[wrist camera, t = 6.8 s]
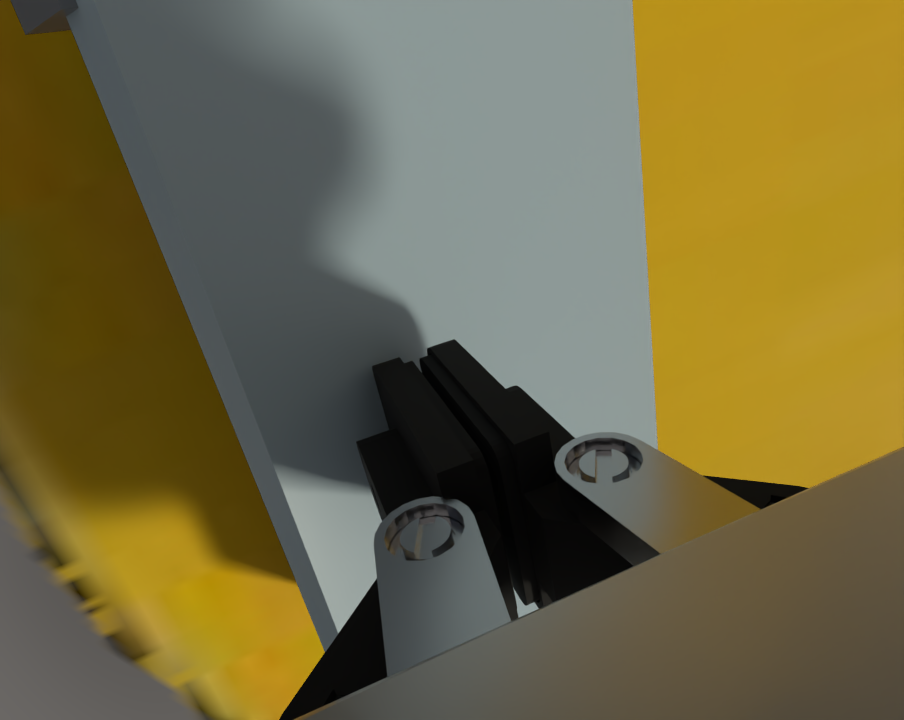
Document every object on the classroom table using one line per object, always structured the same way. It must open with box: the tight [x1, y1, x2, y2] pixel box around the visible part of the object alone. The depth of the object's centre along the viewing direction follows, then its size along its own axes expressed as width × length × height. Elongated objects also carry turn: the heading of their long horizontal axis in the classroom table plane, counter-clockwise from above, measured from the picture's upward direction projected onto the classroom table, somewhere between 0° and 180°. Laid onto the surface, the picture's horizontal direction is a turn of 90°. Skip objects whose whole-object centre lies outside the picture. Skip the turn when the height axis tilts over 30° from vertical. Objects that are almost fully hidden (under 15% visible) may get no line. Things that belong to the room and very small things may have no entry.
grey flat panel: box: [11, 0, 658, 652], centre depth 15 cm, size 27×13×2 cm, turn 12°
